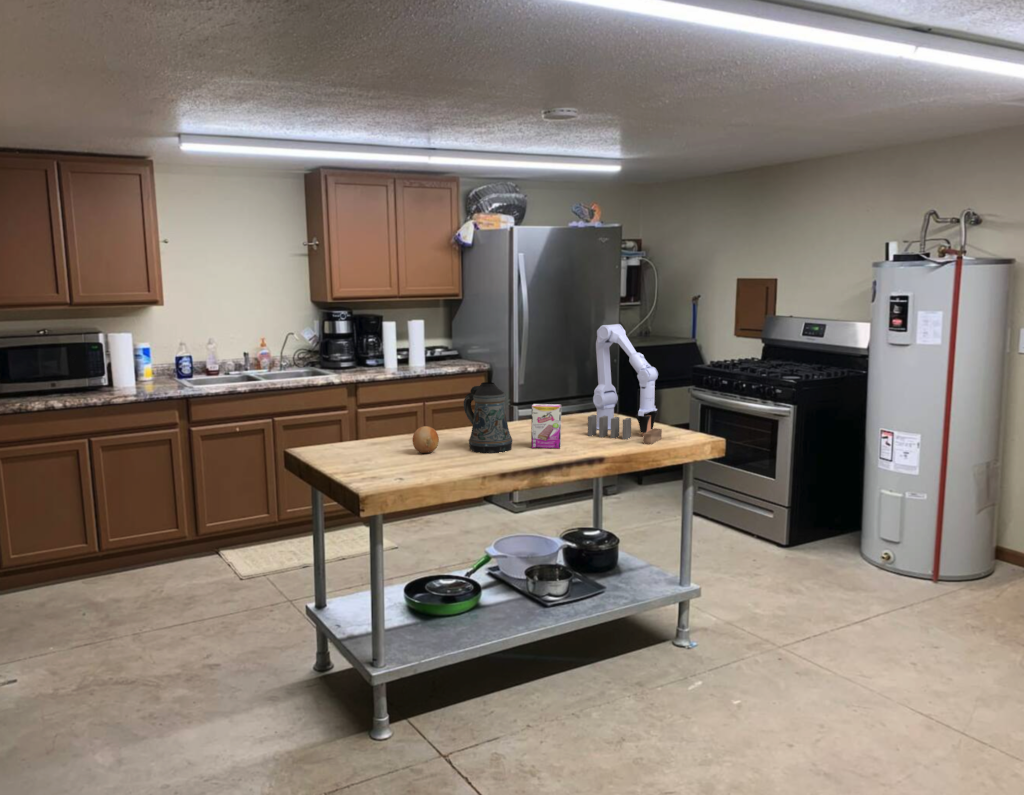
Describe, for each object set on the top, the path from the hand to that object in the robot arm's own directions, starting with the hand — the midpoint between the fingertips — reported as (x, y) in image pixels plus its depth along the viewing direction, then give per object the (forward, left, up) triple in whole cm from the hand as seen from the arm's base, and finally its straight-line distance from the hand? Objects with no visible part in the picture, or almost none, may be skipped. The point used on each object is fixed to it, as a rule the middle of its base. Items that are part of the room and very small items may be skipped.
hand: (646, 430), depth 324 cm
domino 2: (+3, -17, -2) cm, 18 cm away
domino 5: (0, 0, -2) cm, 2 cm away
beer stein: (+32, -59, -2) cm, 67 cm away
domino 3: (+5, -13, -2) cm, 14 cm away
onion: (+42, -80, -2) cm, 91 cm away
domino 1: (+2, -22, -2) cm, 22 cm away
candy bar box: (+27, -37, -2) cm, 46 cm away
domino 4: (+7, -8, -2) cm, 11 cm away
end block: (+10, +2, -2) cm, 11 cm away
